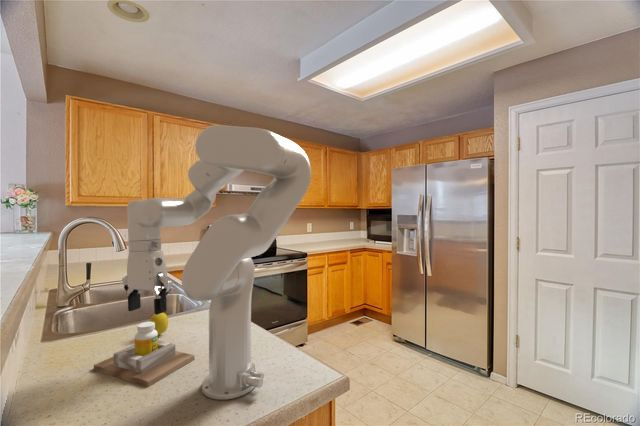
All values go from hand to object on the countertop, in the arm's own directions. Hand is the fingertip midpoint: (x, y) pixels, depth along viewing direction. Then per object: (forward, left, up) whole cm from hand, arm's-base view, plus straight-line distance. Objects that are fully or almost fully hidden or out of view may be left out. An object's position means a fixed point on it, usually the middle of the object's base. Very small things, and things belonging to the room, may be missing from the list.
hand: (147, 311), depth 82 cm
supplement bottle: (0, 0, -13) cm, 13 cm away
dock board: (+1, 0, -14) cm, 14 cm away
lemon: (+14, -15, -15) cm, 25 cm away
